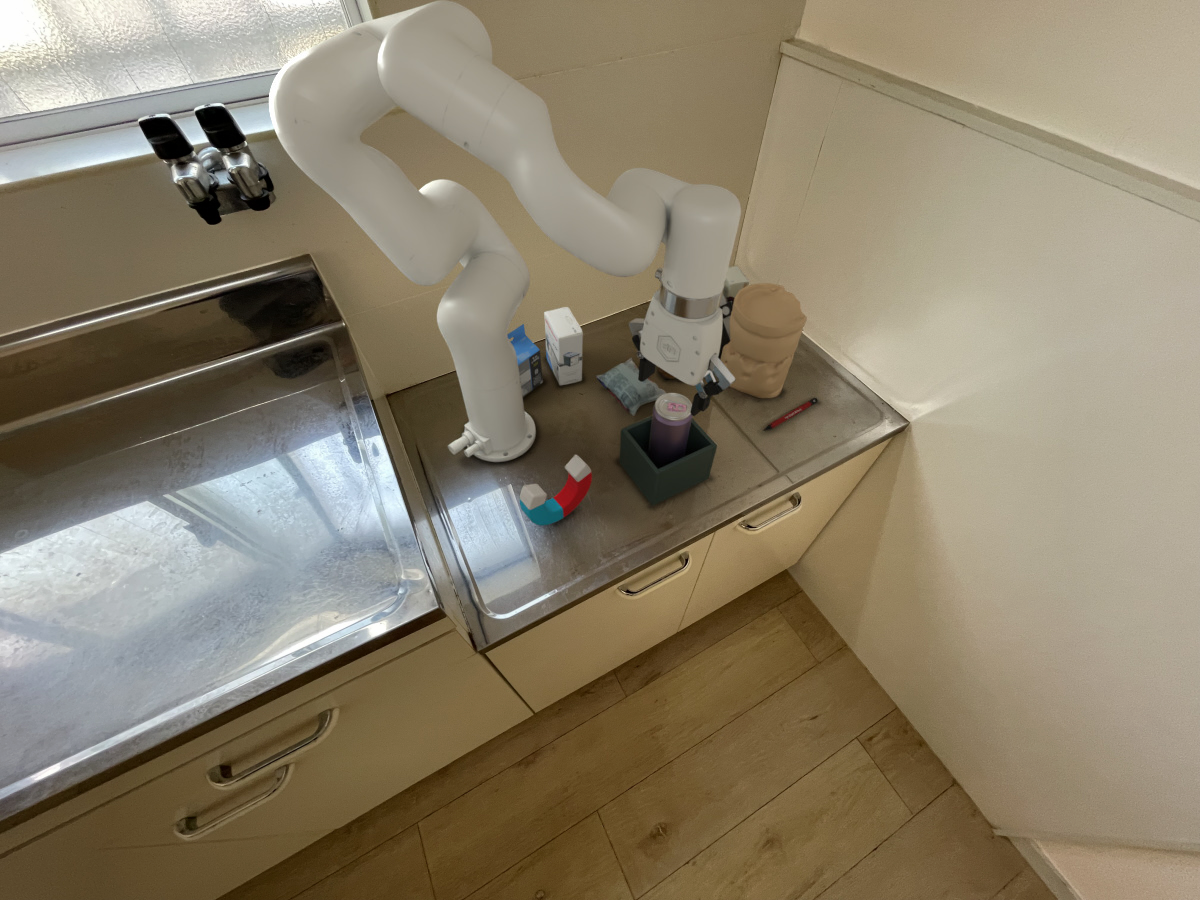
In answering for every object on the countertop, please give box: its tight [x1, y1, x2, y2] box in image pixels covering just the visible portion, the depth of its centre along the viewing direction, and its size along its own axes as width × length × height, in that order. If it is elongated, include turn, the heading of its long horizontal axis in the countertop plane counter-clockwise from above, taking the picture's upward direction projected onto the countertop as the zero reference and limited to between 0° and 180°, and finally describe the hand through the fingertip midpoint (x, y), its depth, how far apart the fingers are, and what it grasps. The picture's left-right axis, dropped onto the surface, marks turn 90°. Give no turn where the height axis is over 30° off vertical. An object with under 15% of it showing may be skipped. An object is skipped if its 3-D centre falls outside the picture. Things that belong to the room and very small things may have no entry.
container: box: [720, 282, 808, 399], centre depth 103 cm, size 13×13×18 cm
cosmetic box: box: [723, 265, 750, 303], centre depth 117 cm, size 6×4×12 cm
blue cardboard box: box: [508, 323, 544, 398], centre depth 103 cm, size 9×4×12 cm, turn 140°
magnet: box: [519, 454, 593, 527], centre depth 87 cm, size 12×3×10 cm, turn 129°
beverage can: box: [648, 392, 693, 469], centre depth 90 cm, size 6×6×15 cm
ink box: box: [543, 306, 584, 386], centre depth 108 cm, size 9×5×12 cm, turn 22°
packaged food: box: [595, 357, 667, 417], centre depth 106 cm, size 9×12×5 cm
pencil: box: [762, 397, 819, 432], centre depth 104 cm, size 1×14×1 cm, turn 124°
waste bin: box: [618, 415, 718, 507], centre depth 93 cm, size 11×10×9 cm
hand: (671, 393), depth 82 cm, fingers open, 9 cm apart
